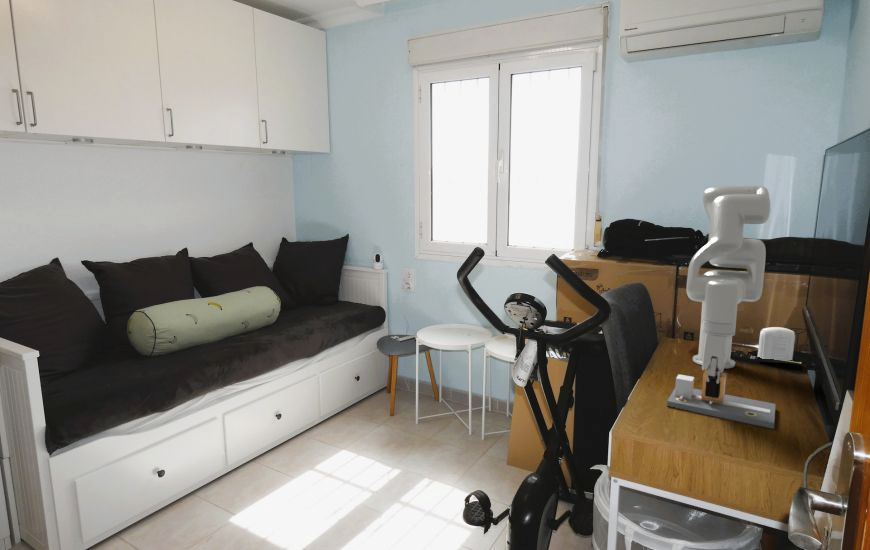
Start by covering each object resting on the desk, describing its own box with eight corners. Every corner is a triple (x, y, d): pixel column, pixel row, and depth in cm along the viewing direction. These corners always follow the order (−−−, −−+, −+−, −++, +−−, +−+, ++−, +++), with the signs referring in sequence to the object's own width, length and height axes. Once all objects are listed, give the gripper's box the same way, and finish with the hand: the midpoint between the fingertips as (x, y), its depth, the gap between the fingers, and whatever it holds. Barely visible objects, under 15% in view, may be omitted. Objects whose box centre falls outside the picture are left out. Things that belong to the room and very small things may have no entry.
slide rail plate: (676, 390, 149) (677, 368, 148) (774, 409, 135) (777, 385, 134) (666, 406, 137) (668, 383, 136) (773, 428, 124) (776, 403, 123)
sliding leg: (703, 394, 140) (705, 370, 139) (724, 398, 137) (726, 373, 136) (699, 402, 134) (701, 377, 133) (721, 407, 131) (723, 381, 130)
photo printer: (787, 361, 175) (791, 326, 173) (794, 365, 170) (798, 329, 168) (754, 360, 176) (758, 325, 174) (760, 364, 172) (764, 328, 170)
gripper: (706, 319, 143) (701, 381, 146) (698, 332, 129) (692, 400, 132) (737, 322, 139) (732, 387, 142) (732, 336, 125) (726, 407, 128)
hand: (713, 392), depth 137 cm, fingers open, 4 cm apart
